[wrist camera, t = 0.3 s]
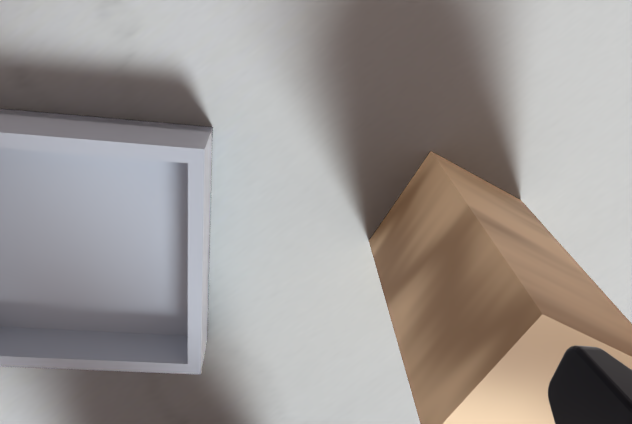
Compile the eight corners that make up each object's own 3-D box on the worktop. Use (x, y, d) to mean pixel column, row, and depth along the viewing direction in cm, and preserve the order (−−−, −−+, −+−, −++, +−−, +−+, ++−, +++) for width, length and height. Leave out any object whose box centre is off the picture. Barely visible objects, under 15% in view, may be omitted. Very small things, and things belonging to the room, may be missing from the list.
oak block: (455, 281, 26) (559, 490, 16) (368, 240, 25) (425, 442, 15) (520, 200, 24) (682, 381, 14) (430, 150, 23) (542, 313, 13)
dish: (207, 338, 27) (200, 374, 24) (-26, 327, 26) (-55, 364, 23) (212, 127, 22) (204, 149, 19) (-77, 102, 21) (-120, 122, 18)
